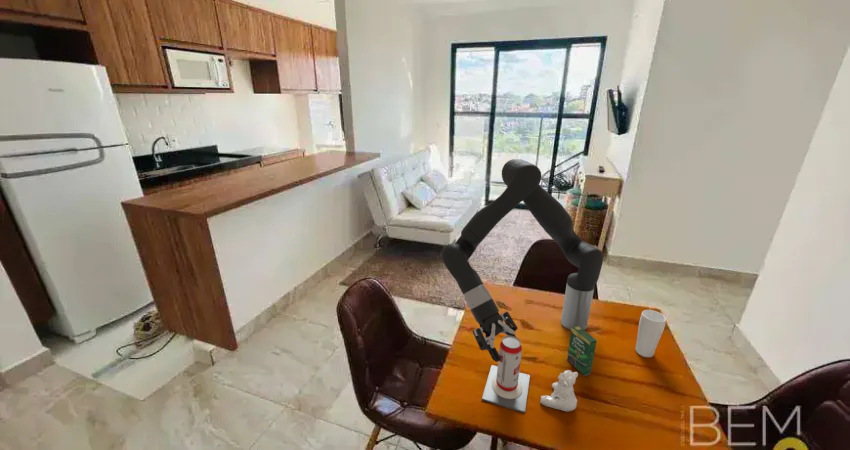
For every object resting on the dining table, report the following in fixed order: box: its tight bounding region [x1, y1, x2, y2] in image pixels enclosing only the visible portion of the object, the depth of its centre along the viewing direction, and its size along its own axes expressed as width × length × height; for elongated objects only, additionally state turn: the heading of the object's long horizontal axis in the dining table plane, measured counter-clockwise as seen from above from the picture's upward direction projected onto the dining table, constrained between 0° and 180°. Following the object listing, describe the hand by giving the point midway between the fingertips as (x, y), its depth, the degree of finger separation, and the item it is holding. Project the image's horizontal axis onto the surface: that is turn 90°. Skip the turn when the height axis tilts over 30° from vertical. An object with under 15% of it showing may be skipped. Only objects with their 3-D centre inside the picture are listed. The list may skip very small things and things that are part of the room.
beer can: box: [496, 335, 523, 392], centre depth 97 cm, size 6×6×16 cm
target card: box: [481, 364, 531, 414], centre depth 100 cm, size 14×12×1 cm
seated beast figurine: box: [539, 369, 579, 412], centre depth 93 cm, size 10×9×12 cm
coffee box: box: [566, 326, 597, 377], centre depth 106 cm, size 8×3×13 cm, turn 19°
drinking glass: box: [634, 309, 667, 358], centre depth 111 cm, size 7×7×15 cm
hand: (508, 354), depth 96 cm, fingers open, 8 cm apart
